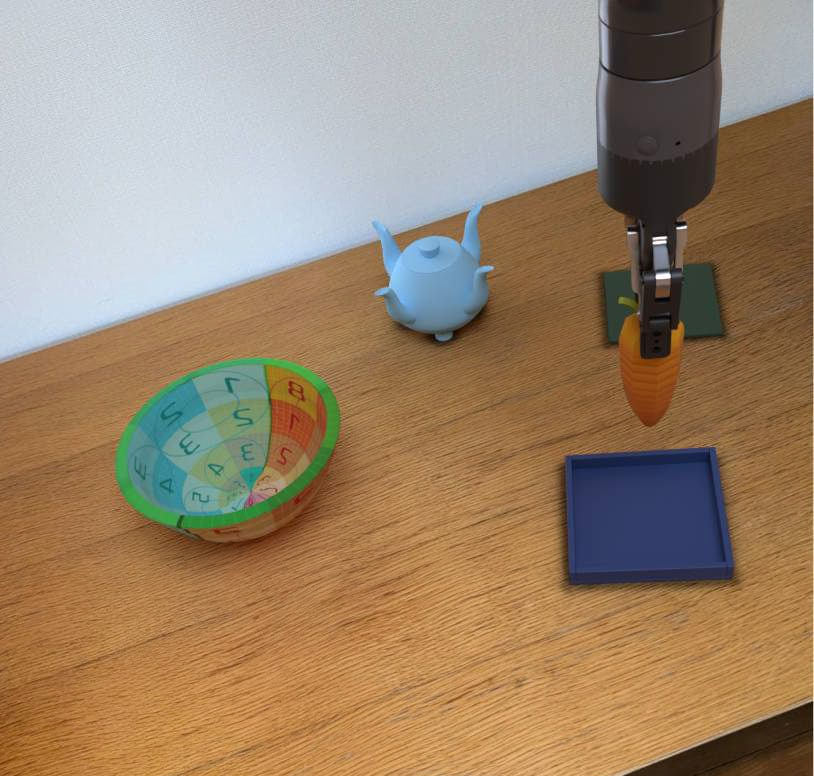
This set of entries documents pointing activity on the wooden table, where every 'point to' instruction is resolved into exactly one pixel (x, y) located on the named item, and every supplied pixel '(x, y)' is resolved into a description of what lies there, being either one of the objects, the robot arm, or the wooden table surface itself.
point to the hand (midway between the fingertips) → (651, 329)
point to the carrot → (647, 370)
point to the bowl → (230, 449)
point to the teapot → (435, 280)
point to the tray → (646, 517)
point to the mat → (694, 306)
